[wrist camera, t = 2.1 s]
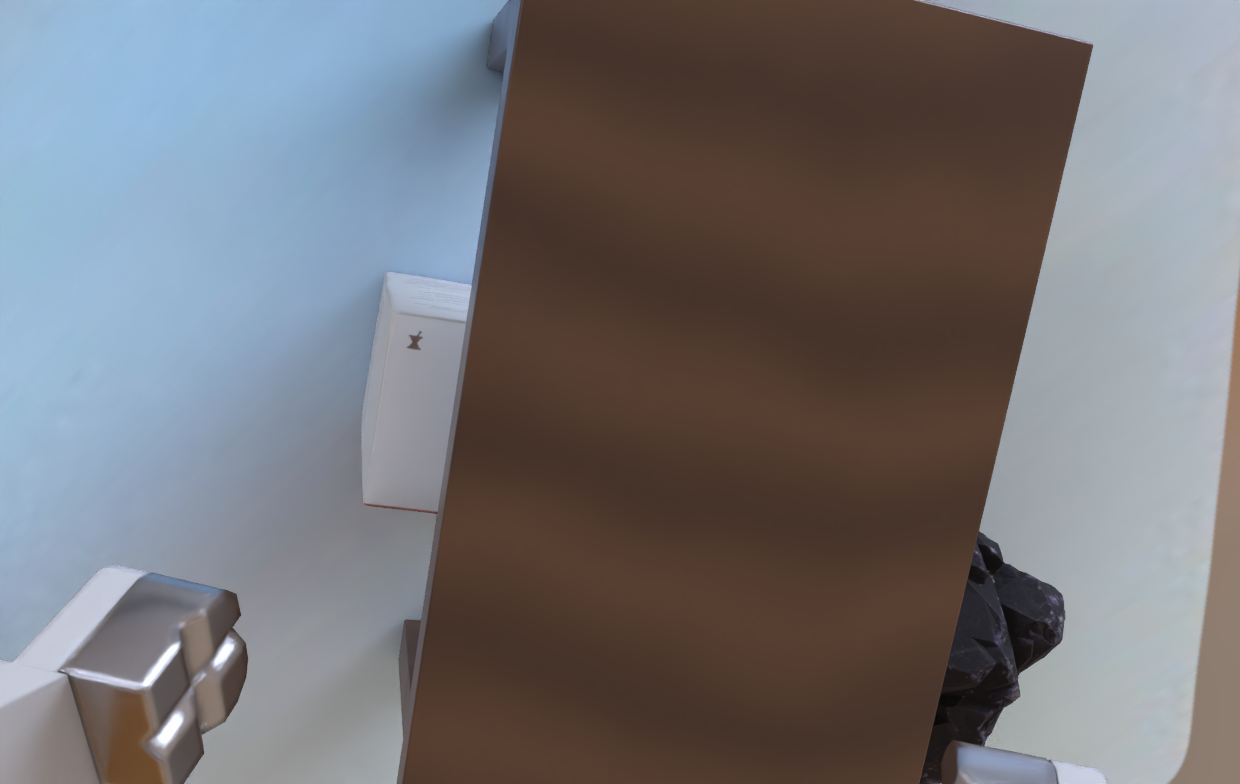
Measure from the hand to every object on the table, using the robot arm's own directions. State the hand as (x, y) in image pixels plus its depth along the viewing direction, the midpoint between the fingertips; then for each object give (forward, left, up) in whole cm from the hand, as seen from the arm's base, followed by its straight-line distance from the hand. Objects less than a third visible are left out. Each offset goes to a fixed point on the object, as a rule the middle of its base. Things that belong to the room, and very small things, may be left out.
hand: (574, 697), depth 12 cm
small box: (+2, +2, -35) cm, 35 cm away
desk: (+2, +8, -34) cm, 35 cm away
